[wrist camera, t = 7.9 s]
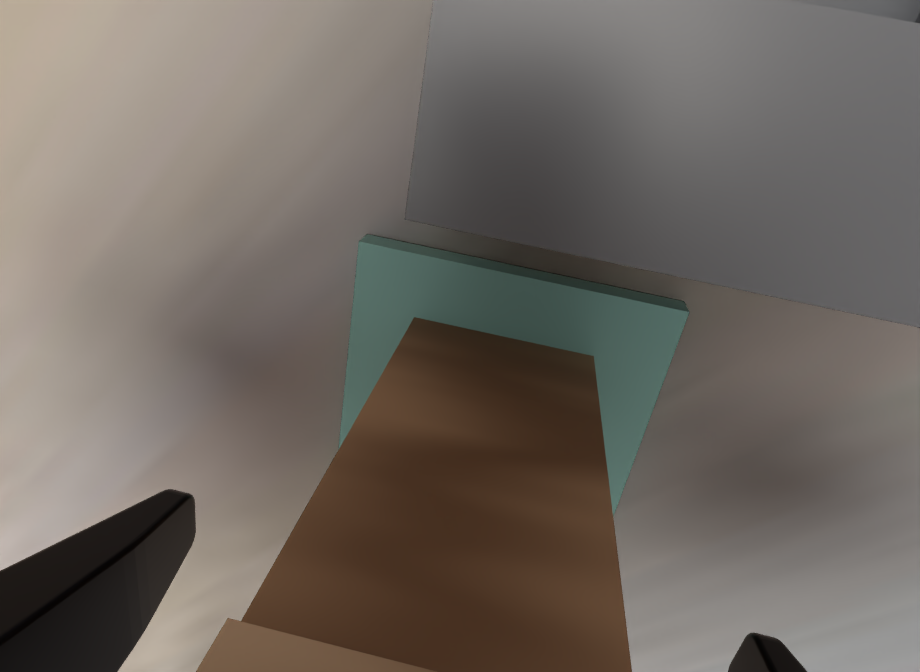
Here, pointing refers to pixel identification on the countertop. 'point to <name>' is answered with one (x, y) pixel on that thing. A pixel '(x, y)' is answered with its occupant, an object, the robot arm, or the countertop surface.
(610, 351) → the mat
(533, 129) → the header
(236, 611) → the countertop surface
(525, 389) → the plug
